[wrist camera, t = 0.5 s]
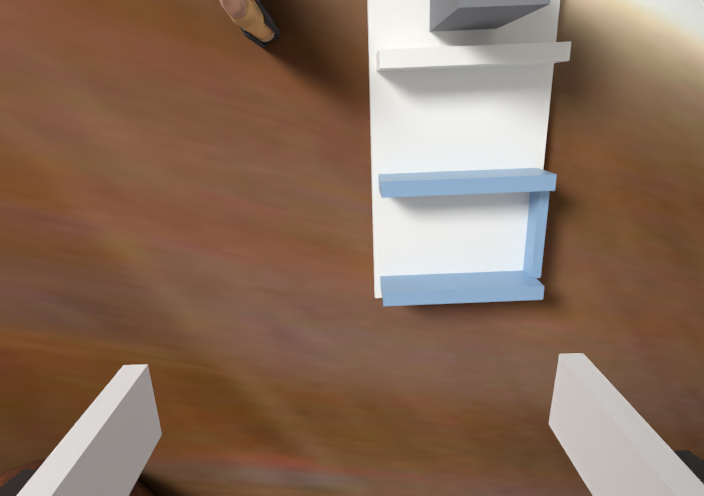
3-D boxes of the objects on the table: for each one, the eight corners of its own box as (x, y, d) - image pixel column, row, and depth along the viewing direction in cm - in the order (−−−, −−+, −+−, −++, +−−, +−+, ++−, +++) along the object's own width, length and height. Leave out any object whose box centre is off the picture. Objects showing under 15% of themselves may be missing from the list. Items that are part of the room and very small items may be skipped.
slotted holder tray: (364, -98, 31) (367, -130, 27) (564, -106, 31) (599, -139, 27) (374, 293, 41) (377, 316, 36) (526, 287, 41) (547, 309, 36)
